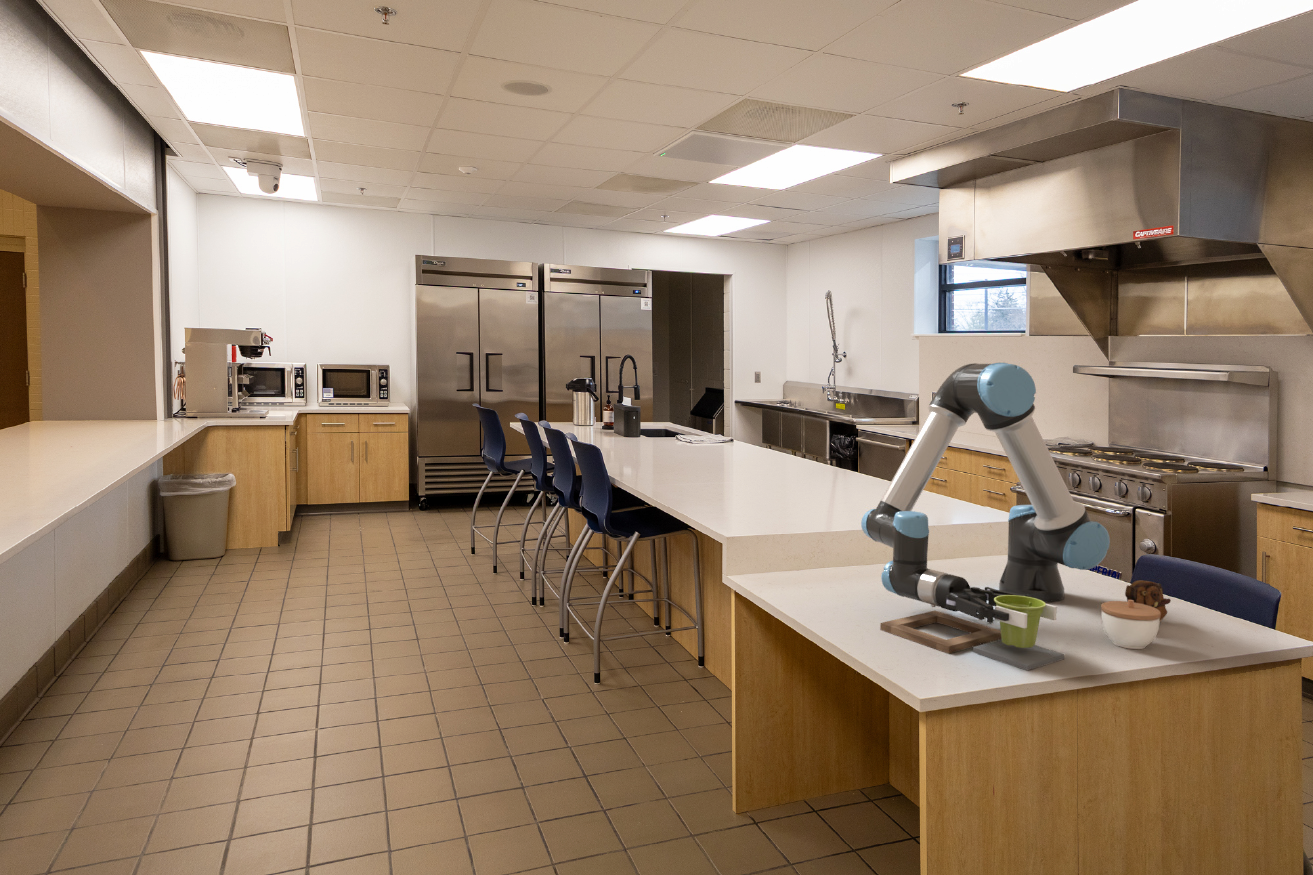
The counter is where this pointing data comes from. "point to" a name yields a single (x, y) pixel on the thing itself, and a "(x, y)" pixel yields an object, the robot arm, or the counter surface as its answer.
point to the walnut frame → (905, 630)
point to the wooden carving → (1148, 595)
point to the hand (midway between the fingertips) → (1040, 617)
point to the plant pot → (1033, 611)
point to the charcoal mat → (1018, 654)
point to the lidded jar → (1130, 623)
